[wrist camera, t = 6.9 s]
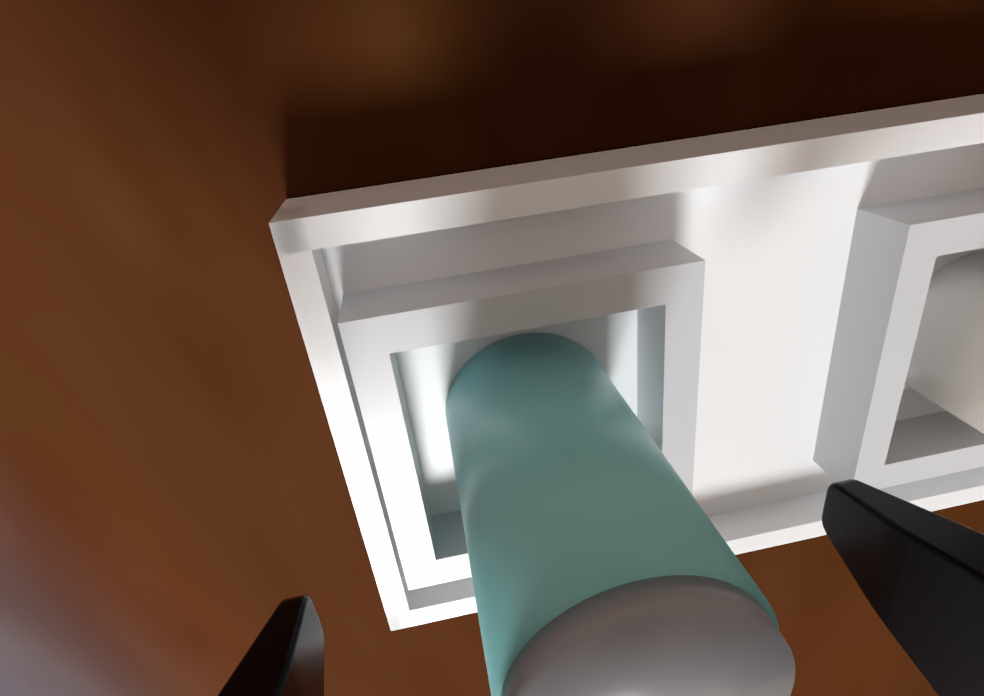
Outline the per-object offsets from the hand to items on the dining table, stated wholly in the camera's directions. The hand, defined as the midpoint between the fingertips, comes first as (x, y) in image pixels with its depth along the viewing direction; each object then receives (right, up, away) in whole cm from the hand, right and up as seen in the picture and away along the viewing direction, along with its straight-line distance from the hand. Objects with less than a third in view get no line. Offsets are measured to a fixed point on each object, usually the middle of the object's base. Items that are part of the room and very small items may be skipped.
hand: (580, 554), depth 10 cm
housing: (+5, +4, +6) cm, 8 cm away
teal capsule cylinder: (-1, +2, +4) cm, 5 cm away
